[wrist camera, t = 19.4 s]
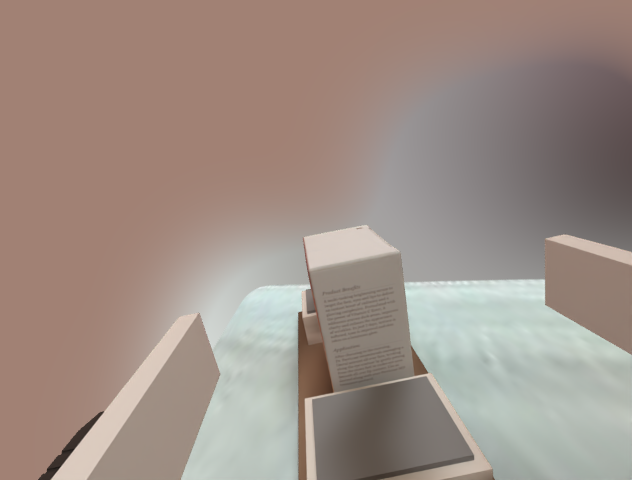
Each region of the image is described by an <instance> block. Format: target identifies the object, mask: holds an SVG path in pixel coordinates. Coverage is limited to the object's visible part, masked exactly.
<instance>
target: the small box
mask: <svg viewBox="0 0 632 480" xmlns="http://www.w3.org/2000/svg"><path fill="white" fill-rule="evenodd" d="M303 242H304V249H305V257H306V263H307V270H308V276H309V280H310V286H311V291H312V296H313V301H314V305H315V310H316V314H317V319H318V323H319V328H320V332H321V337H322V341H323V346H324V351H325V355H326V360H327V364H328V369H329V373H330V378H331V383H332V388H333V393H335V392H340V391H345V390H350V389H355V388H360V387H365V386H369V385H374V384H379V383H384V382H389V381H394V380H399V379H404V378H409V377H414V367H413V359H412V350H411V341H410V332H409V323H408V314H407V304H406V296H405V287H404V278H403V268H402V260H401V253H400V252H399V251H398V250H397V249H395V248H394V247H392V246H391V245H389V244H388V243H387V242H385V240H383V239H382V238H381V237H380V236H378V235H377V234H376V233H375V232H374V231H373V230H372V229H371V228H370V227H369V226H368V225H364V226H358V227H353V228H348V229H342V230H337V231H332V232H327V233H322V234H316V235H311V236H307V237H304V238H303Z"/></svg>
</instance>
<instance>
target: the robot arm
mask: <svg viewBox="0 0 632 480" xmlns="http://www.w3.org/2000/svg"><path fill="white" fill-rule="evenodd" d="M545 305H547V306H548V307H550V308H552V309H553V310H555V311H557V312H559V313H560V314H562V315H564V316H566V317H567V318H569V319H571V320H573V321H574V322H576V323H578V324H579V325H581V326H583V327H585V328H586V329H588V330H590V331H592V332H593V333H595V334H597V335H599V336H600V337H602V338H604V339H606V340H607V341H609V342H611V343H612V344H614V345H616V346H618V347H619V348H621V349H623V350H625V351H626V352H628V353H630V354H632V252H629V251H625V250H622V249H618V248H614V247H610V246H607V245H603V244H599V243H595V242H592V241H588V240H584V239H580V238H577V237H573V236H569V235H560V236H556V237H551V238H546V239H545ZM219 376H220V372H219V369H218V366H217V363H216V360H215V357H214V354H213V351H212V348H211V346H210V343H209V340H208V337H207V334H206V331H205V328H204V325H203V322H202V319H201V316H200V313H195V314H190V315H186V316H181V317H179V318H178V319H177V320H176V321H175V323H174V324H173V325H172V326H171V328H170V329H169V330H168V332H167V333H166V334H165V335H164V337H163V338H162V339H161V341H160V342H159V343H158V344H157V346H156V347H155V348H154V349H153V351H152V352H151V353H150V354H149V356H148V357H147V358H146V359H145V361H144V362H143V363H142V365H141V366H140V367H139V368H138V370H137V371H136V372H135V374H134V375H133V376H132V377H131V379H130V380H129V381H128V382H127V384H126V385H125V386H124V387H123V389H122V390H121V391H120V393H119V394H118V395H117V396H116V398H115V399H114V400H113V401H112V403H111V404H110V405H109V407H108V408H107V409H106V410H105V411H104V412H100V413H99V414H98V415H96V416H95V417H94V418H93V419H92V420H91V421H90V422H88V423H87V424H86V425H85V426H84V427H82V428H81V429H80V430H79V431H78V432H77V433H76V435H75V436H74V437H73V438H72V439H71V441H70V442H69V443H68V444H67V445H66V447H65V448H64V449H63V450H62V454H61V455H58V456H57V457H56V459H55V460H54V461H53V462H52V464H51V465H50V466H49V467H48V468H47V472H46V473H45V474H43V475H42V476H41V477H40V478H39V479H38V480H181V477H182V474H183V472H184V469H185V466H186V464H187V461H188V459H189V456H190V453H191V451H192V448H193V445H194V443H195V440H196V437H197V435H198V432H199V429H200V427H201V424H202V421H203V419H204V416H205V413H206V411H207V408H208V406H209V403H210V400H211V398H212V395H213V392H214V390H215V387H216V384H217V382H218V379H219Z"/></svg>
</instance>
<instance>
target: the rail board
mask: <svg viewBox="0 0 632 480" xmlns="http://www.w3.org/2000/svg"><path fill="white" fill-rule="evenodd" d="M411 350H412V359H413V367H414V377H409V378H404V379H399V380H394V381H389V382H384V383H379V384H374V385H369V386H365V387H360V388H355V389H350V390H345V391H340V392H335V393H333V388H332V383H331V378H330V373H329V369H328V364H327V360H326V355H325V351H324V346H323V341H322V337H321V332H320V328H319V323H318V319H317V314H316V310H315V305H314V301H313V296H312V291H311V289H308V290H306V291H302V312H298V374H299V480H495V479H494V477H493V469H492V467H491V466H490V464H489V462H488V461H487V459H486V458H485V456H484V455H483V453H482V451H481V450H480V448H479V447H478V445H477V444H476V442H475V441H474V439H473V437H472V436H471V434H470V433H469V431H468V430H467V428H466V426H465V425H464V423H463V422H462V420H461V419H460V417H459V415H458V414H457V412H456V411H455V409H454V408H453V406H452V404H451V403H450V401H449V400H448V398H447V397H446V395H445V394H444V392H443V390H442V389H441V387H440V386H439V384H438V383H437V381H436V379H435V378H434V376H433V375H432V373H428V372H427V370H426V369H425V367H424V365H423V364H422V362H421V360H420V359H419V357H418V356H417V354H416V352H415V351H414V349H413V348H412V346H411Z"/></svg>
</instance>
